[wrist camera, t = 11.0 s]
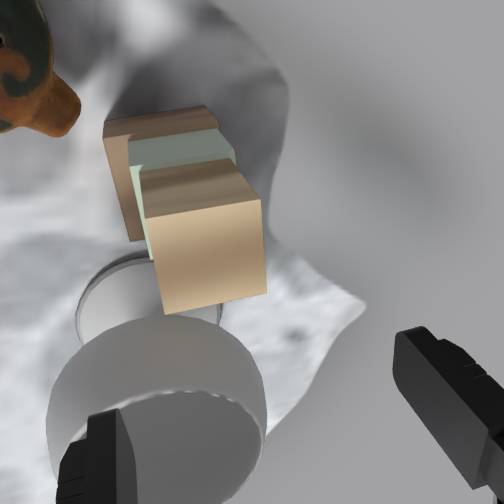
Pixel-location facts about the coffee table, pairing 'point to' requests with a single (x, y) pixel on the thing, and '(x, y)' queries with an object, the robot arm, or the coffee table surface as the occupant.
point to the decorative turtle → (31, 73)
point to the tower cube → (174, 157)
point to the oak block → (203, 234)
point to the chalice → (162, 390)
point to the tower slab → (144, 128)
